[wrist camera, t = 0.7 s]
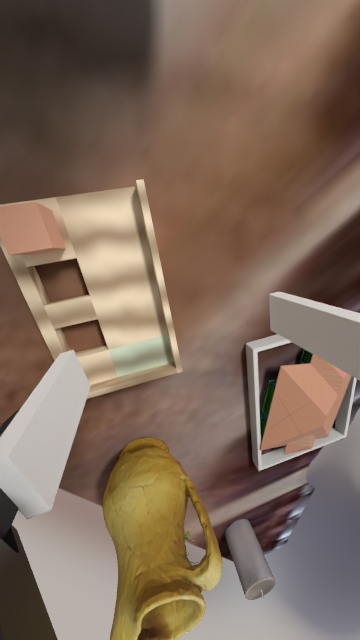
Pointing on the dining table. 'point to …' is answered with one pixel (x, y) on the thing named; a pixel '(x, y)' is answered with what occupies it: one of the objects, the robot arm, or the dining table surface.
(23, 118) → the dining table surface
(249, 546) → the pillar candle
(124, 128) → the dining table surface
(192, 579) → the pitcher
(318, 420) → the house
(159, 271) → the cube sorting tray
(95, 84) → the dining table surface
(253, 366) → the serving tray rim
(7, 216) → the salmon block
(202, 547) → the dining table surface
